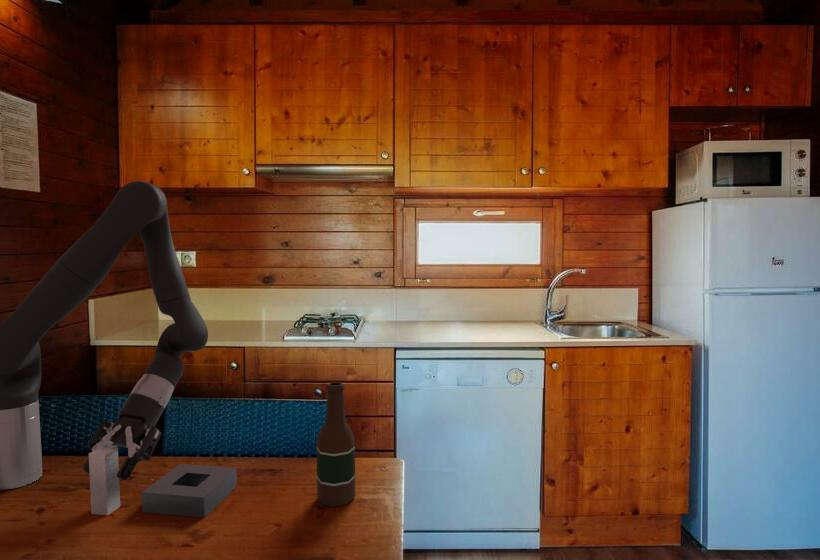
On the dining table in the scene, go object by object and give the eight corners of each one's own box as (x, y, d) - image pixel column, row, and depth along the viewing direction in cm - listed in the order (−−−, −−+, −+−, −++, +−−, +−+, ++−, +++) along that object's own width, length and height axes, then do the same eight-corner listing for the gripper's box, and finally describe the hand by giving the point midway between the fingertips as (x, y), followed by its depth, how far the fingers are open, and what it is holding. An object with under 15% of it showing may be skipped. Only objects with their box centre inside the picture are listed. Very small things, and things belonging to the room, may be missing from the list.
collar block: (142, 511, 104) (141, 492, 104) (181, 481, 117) (180, 463, 117) (204, 517, 102) (203, 497, 102) (236, 486, 115) (236, 468, 115)
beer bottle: (309, 498, 110) (307, 383, 108) (338, 485, 115) (337, 376, 113) (333, 512, 105) (332, 391, 102) (363, 497, 110) (362, 383, 108)
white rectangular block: (91, 513, 103) (88, 453, 102) (104, 504, 107) (101, 446, 106) (107, 515, 103) (105, 454, 102) (120, 506, 106) (117, 447, 105)
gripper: (110, 388, 114) (63, 462, 104) (164, 395, 109) (120, 473, 99) (132, 405, 119) (89, 477, 109) (184, 412, 114) (143, 488, 105)
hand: (103, 475), depth 104 cm, fingers open, 8 cm apart
